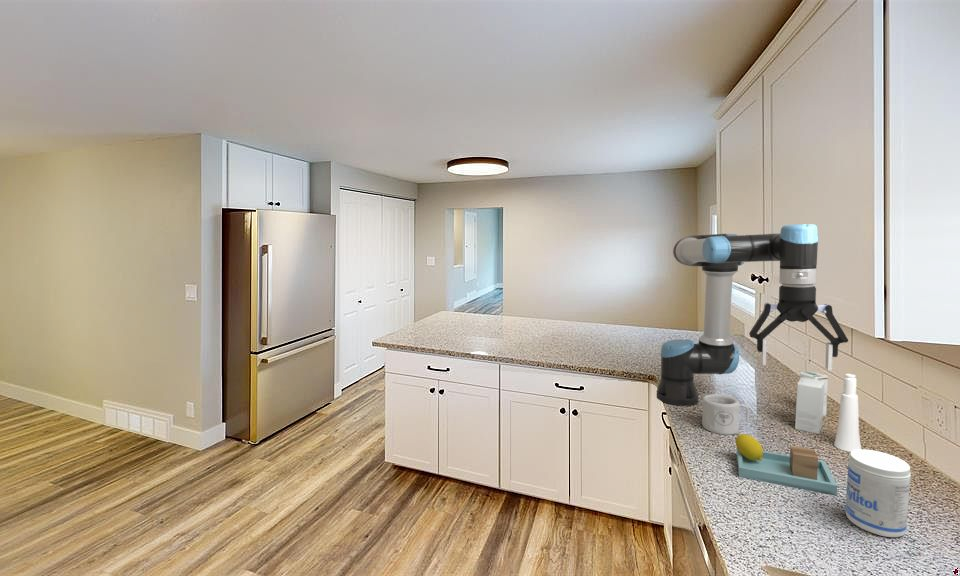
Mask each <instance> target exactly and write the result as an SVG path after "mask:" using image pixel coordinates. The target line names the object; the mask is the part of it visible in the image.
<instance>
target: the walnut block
mask: <svg viewBox="0 0 960 576" xmlns="http://www.w3.org/2000/svg"><path fill="white" fill-rule="evenodd" d="M789 455H790V470H791V473H792V476H797V477H802V478H808V479H813V480H817V473H818V460H819V457H818V455H817V453H816V451H815V449H814V448H807V447H802V446H794V445H789Z"/></svg>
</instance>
